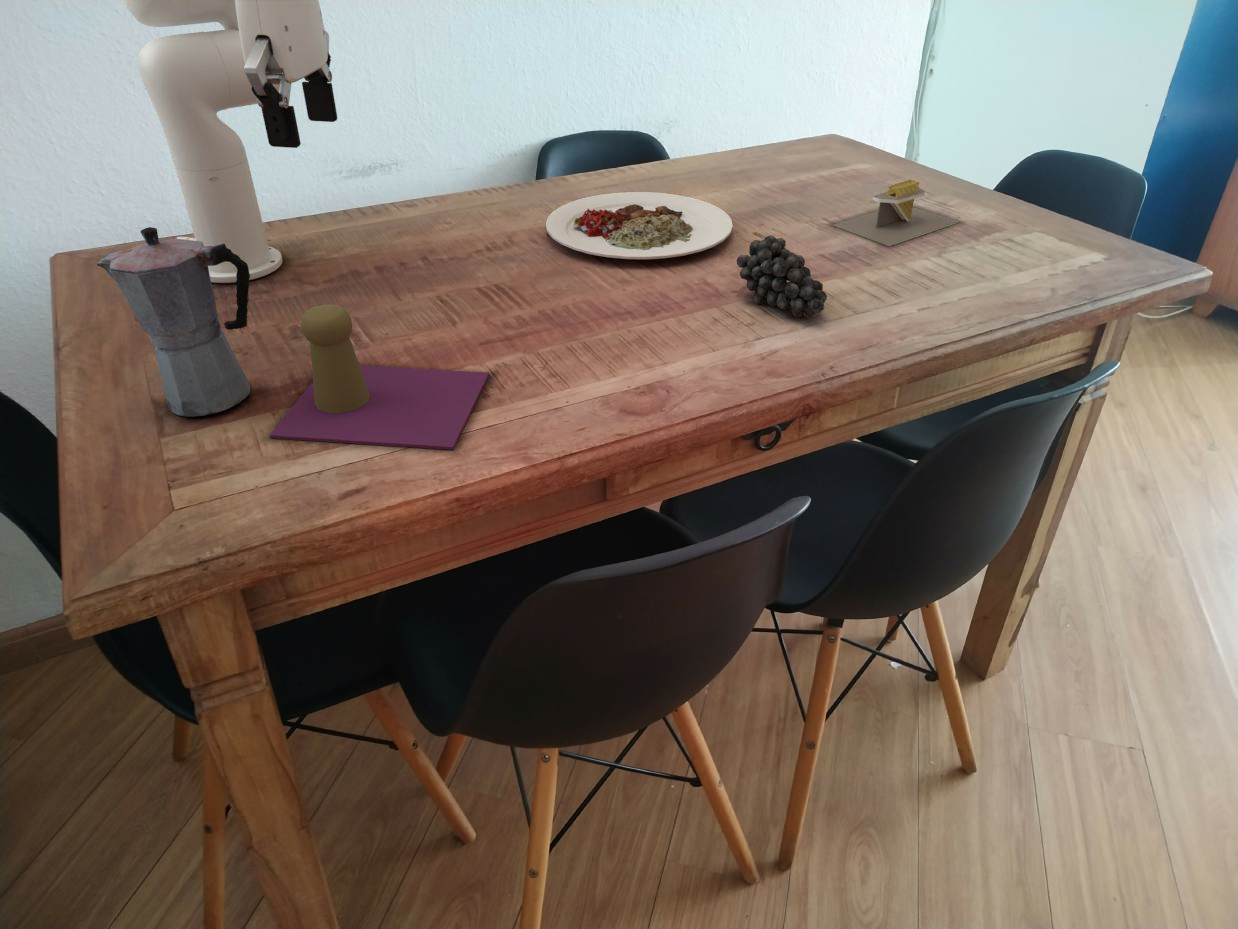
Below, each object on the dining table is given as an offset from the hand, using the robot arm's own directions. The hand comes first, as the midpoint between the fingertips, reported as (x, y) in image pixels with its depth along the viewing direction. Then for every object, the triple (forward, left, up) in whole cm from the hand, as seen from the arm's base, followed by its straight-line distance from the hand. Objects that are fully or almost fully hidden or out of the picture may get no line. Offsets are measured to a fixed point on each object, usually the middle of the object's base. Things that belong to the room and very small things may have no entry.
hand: (305, 132), depth 95 cm
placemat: (+9, -12, -26) cm, 30 cm away
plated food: (+32, +45, -27) cm, 61 cm away
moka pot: (-11, -13, -27) cm, 31 cm away
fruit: (+54, +19, -27) cm, 63 cm away
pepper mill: (+4, -12, -26) cm, 29 cm away
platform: (+74, +54, -27) cm, 95 cm away
